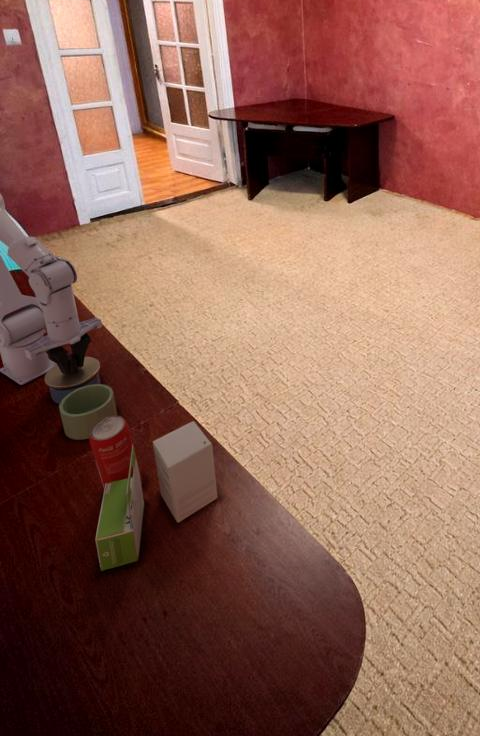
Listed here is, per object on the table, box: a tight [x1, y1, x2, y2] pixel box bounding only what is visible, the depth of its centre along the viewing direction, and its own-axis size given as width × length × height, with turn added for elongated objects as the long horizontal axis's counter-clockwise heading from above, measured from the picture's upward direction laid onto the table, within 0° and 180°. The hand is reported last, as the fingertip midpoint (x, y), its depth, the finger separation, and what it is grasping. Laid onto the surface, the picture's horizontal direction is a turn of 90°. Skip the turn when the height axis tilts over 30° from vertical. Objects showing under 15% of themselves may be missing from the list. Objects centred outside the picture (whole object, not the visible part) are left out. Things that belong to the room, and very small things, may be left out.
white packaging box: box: [152, 420, 219, 524], centre depth 83 cm, size 7×7×13 cm
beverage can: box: [88, 415, 143, 490], centre depth 83 cm, size 6×6×15 cm
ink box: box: [94, 443, 145, 572], centre depth 75 cm, size 10×5×14 cm, turn 22°
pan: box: [48, 370, 102, 405], centre depth 107 cm, size 9×9×4 cm
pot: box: [58, 383, 118, 441], centre depth 98 cm, size 9×9×6 cm
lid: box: [44, 353, 101, 388], centre depth 106 cm, size 10×10×5 cm
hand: (72, 369), depth 106 cm, fingers closed on lid, 2 cm apart
